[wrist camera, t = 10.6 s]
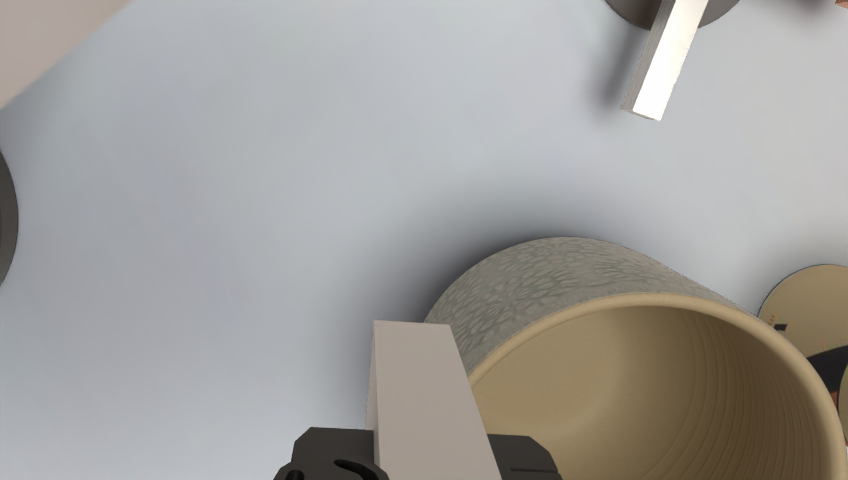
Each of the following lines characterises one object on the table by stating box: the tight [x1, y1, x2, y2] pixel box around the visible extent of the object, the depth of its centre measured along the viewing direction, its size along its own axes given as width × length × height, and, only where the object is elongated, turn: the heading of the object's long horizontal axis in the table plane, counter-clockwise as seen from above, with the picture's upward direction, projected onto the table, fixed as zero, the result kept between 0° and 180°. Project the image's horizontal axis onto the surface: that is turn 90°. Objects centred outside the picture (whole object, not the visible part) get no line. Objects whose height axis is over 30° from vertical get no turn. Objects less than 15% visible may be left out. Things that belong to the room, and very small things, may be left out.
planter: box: [423, 237, 848, 480], centre depth 36 cm, size 17×17×15 cm
